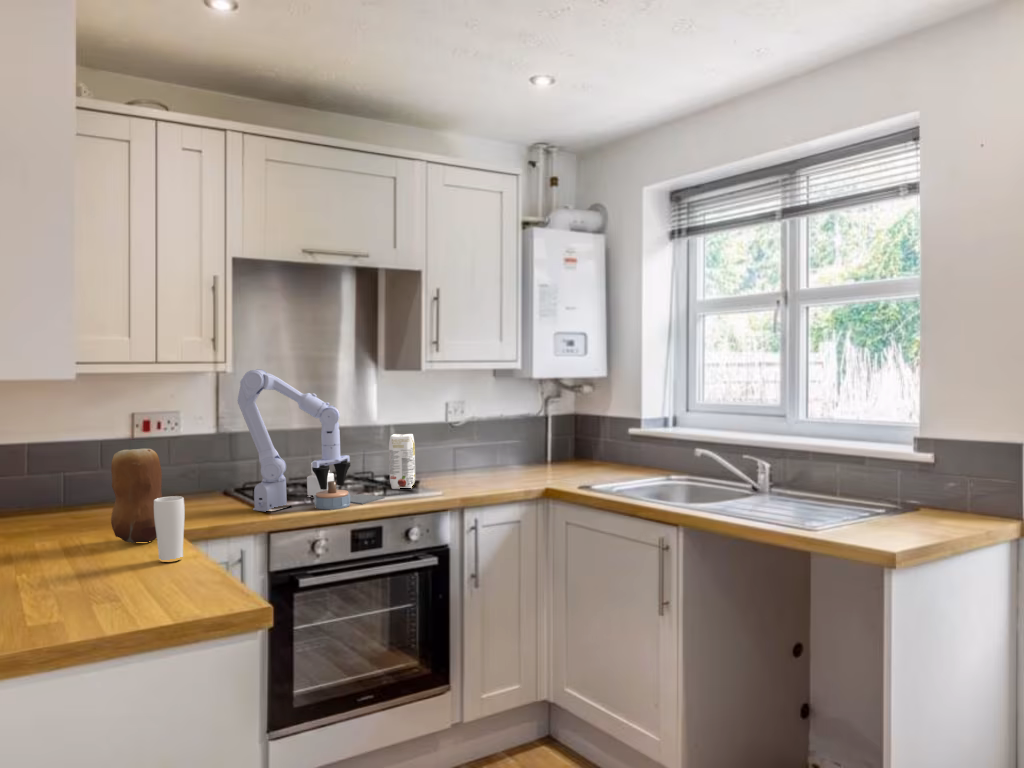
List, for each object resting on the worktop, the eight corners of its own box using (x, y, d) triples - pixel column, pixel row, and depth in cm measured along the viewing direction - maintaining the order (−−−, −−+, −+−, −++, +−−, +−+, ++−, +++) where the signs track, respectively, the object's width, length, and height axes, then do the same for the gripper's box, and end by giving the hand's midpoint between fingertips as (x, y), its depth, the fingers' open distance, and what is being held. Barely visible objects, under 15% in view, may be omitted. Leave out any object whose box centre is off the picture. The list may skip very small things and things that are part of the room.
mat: (361, 504, 249) (361, 502, 249) (336, 501, 255) (336, 499, 255) (384, 498, 259) (384, 496, 259) (359, 495, 265) (359, 493, 265)
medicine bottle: (334, 493, 268) (333, 459, 268) (327, 497, 261) (326, 462, 260) (314, 493, 269) (313, 459, 268) (307, 497, 262) (306, 462, 261)
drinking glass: (191, 560, 187) (189, 498, 186) (163, 566, 182) (160, 502, 181) (178, 555, 192) (176, 494, 191) (150, 561, 187) (148, 499, 186)
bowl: (332, 511, 240) (332, 499, 240) (307, 507, 245) (307, 496, 245) (357, 504, 249) (356, 493, 249) (332, 501, 255) (331, 490, 254)
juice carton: (413, 489, 273) (412, 435, 272) (388, 489, 273) (387, 436, 272) (416, 485, 281) (415, 433, 280) (392, 485, 281) (391, 433, 280)
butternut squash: (142, 534, 213) (138, 444, 212) (180, 538, 208) (177, 445, 207) (99, 547, 200) (95, 450, 199) (138, 551, 196) (134, 452, 194)
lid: (332, 499, 240) (332, 485, 240) (309, 496, 245) (308, 483, 245) (354, 493, 249) (354, 480, 249) (331, 491, 254) (331, 478, 254)
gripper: (323, 448, 238) (324, 492, 239) (356, 442, 250) (357, 484, 251) (306, 447, 242) (308, 490, 242) (339, 441, 254) (341, 482, 255)
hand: (332, 487), depth 247 cm, fingers open, 7 cm apart
